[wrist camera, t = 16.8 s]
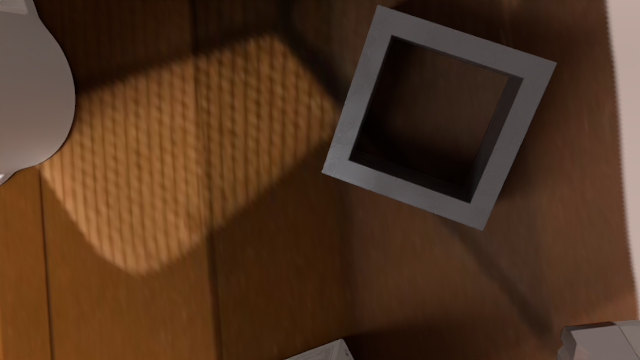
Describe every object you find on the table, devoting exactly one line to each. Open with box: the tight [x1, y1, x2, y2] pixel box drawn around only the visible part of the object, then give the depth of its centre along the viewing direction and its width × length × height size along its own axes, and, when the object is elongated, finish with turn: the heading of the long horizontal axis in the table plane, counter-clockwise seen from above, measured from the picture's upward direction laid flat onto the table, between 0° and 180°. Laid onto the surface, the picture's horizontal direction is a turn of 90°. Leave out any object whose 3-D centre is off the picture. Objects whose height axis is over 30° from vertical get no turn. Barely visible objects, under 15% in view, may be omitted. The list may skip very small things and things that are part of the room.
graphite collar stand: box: [322, 5, 557, 231], centre depth 36 cm, size 12×12×5 cm
